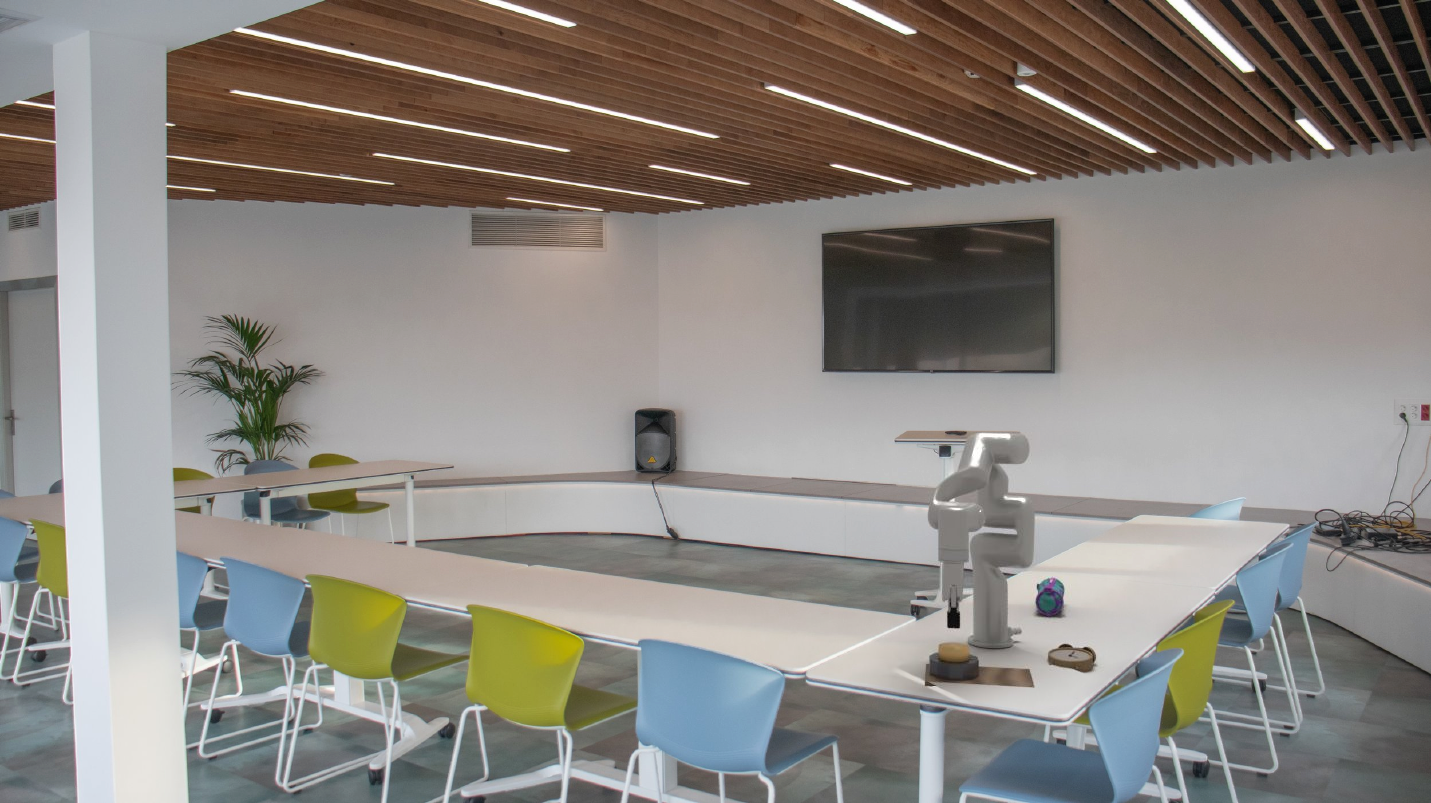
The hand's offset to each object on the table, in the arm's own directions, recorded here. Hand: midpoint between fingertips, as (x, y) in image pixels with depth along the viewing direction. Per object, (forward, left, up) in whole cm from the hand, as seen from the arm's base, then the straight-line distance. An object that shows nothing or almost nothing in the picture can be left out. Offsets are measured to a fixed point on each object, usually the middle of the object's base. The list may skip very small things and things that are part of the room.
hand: (953, 627), depth 263 cm
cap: (0, 0, -12) cm, 12 cm away
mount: (-5, +3, -13) cm, 14 cm away
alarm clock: (-36, +2, -13) cm, 38 cm away
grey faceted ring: (0, 0, -12) cm, 12 cm away
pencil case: (-74, -51, -13) cm, 91 cm away
